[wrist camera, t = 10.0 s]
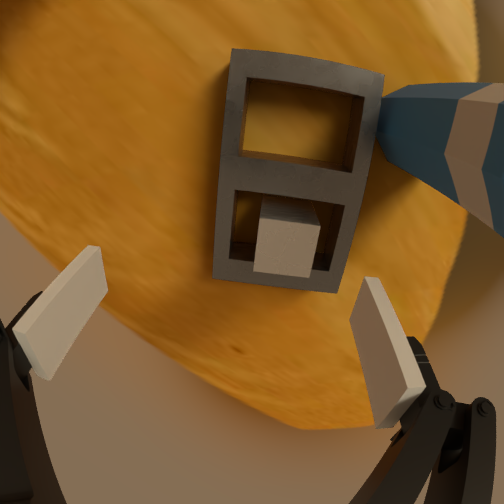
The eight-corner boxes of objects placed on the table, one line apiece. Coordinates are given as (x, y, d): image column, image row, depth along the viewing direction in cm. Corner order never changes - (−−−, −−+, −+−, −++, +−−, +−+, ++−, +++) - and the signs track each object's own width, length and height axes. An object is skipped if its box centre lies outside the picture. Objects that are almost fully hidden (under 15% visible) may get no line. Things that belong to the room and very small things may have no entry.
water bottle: (405, 67, 23) (627, 61, 1) (461, 129, 25) (653, 214, 3) (354, 131, 27) (564, 238, 5) (415, 188, 29) (581, 347, 7)
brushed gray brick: (262, 193, 30) (259, 218, 24) (310, 200, 30) (320, 226, 24) (257, 237, 33) (253, 271, 27) (302, 243, 33) (309, 277, 27)
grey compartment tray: (237, 56, 24) (231, 48, 21) (370, 78, 24) (384, 74, 20) (218, 259, 34) (212, 278, 31) (331, 273, 34) (336, 293, 31)
